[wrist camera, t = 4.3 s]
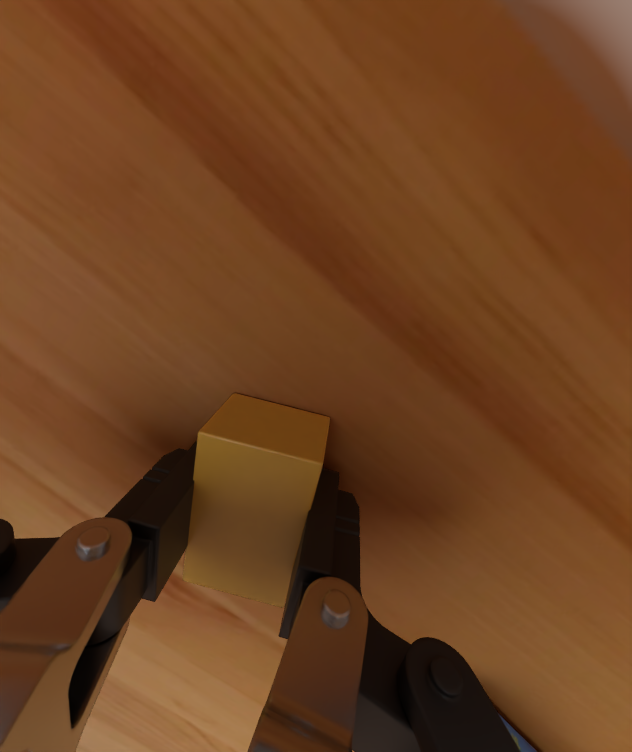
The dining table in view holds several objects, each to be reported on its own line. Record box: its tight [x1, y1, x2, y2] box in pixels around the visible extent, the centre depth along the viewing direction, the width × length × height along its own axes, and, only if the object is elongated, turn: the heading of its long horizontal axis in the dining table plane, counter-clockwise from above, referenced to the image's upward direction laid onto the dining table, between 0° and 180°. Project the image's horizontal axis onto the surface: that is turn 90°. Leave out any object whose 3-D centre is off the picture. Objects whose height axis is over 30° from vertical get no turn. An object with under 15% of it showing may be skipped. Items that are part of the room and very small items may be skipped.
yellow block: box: [183, 393, 330, 608], centre depth 10 cm, size 5×3×2 cm, turn 168°
